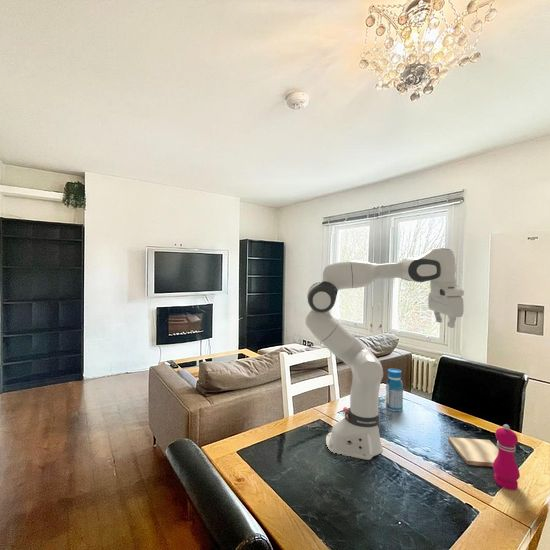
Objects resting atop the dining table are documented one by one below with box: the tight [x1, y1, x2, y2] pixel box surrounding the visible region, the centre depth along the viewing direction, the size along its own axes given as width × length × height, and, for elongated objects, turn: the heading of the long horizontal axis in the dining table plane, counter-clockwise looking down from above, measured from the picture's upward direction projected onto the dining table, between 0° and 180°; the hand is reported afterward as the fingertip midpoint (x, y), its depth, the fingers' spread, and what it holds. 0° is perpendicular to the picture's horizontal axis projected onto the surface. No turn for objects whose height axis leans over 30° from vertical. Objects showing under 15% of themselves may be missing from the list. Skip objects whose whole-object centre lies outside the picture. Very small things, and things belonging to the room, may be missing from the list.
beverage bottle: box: [385, 368, 404, 412], centre depth 157 cm, size 8×8×20 cm
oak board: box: [447, 436, 499, 468], centre depth 119 cm, size 16×16×2 cm
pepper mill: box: [492, 423, 521, 491], centre depth 102 cm, size 7×7×20 cm
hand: (444, 324), depth 118 cm, fingers open, 8 cm apart
